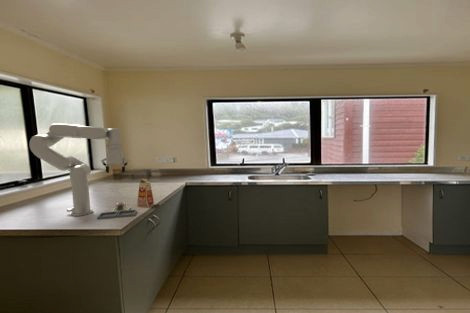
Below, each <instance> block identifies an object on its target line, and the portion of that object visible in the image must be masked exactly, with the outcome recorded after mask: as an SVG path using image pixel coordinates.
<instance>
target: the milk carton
mask: <svg viewBox="0 0 470 313" xmlns="http://www.w3.org/2000/svg"><path fill="white" fill-rule="evenodd" d="M137 194H138V195H137V203H136V207H144V208H147V207H148V208H149V207H151V206H153V205H155V201H154V195H153V189H152V186H151V182H150V181H148V179H147V178H141V181H140V182H139V185H138V192H137Z"/></svg>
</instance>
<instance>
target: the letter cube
mask: <svg viewBox="0 0 470 313" xmlns="http://www.w3.org/2000/svg"><path fill="white" fill-rule="evenodd" d="M126 205H127V204H126V202H125V201H121V202H120V201H119V202H117V203H115V208H116V211H121V210H126V207H127V206H126Z"/></svg>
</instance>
